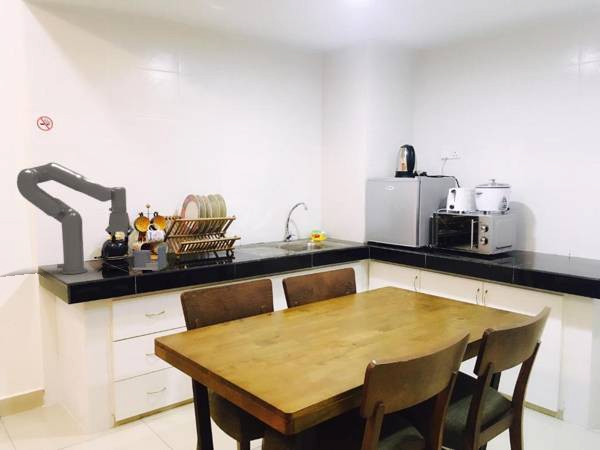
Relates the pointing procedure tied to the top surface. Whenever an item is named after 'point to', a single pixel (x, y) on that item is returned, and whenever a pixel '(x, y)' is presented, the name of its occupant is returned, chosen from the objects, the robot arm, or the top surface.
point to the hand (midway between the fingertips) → (120, 243)
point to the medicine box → (142, 258)
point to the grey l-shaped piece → (156, 264)
